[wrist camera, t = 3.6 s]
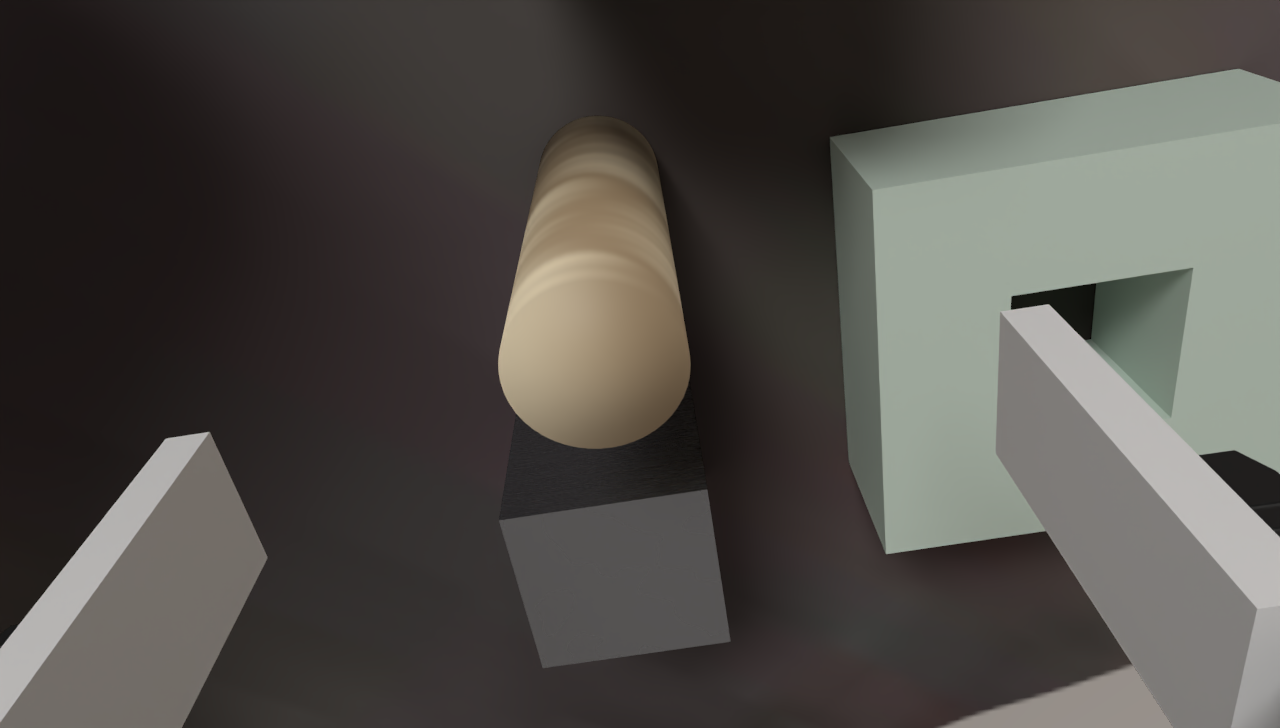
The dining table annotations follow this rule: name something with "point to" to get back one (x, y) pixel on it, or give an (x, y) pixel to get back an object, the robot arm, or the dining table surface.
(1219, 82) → the socket block
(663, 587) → the dark grey block
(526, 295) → the birch dowel
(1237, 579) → the robot arm
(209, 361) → the dining table surface
